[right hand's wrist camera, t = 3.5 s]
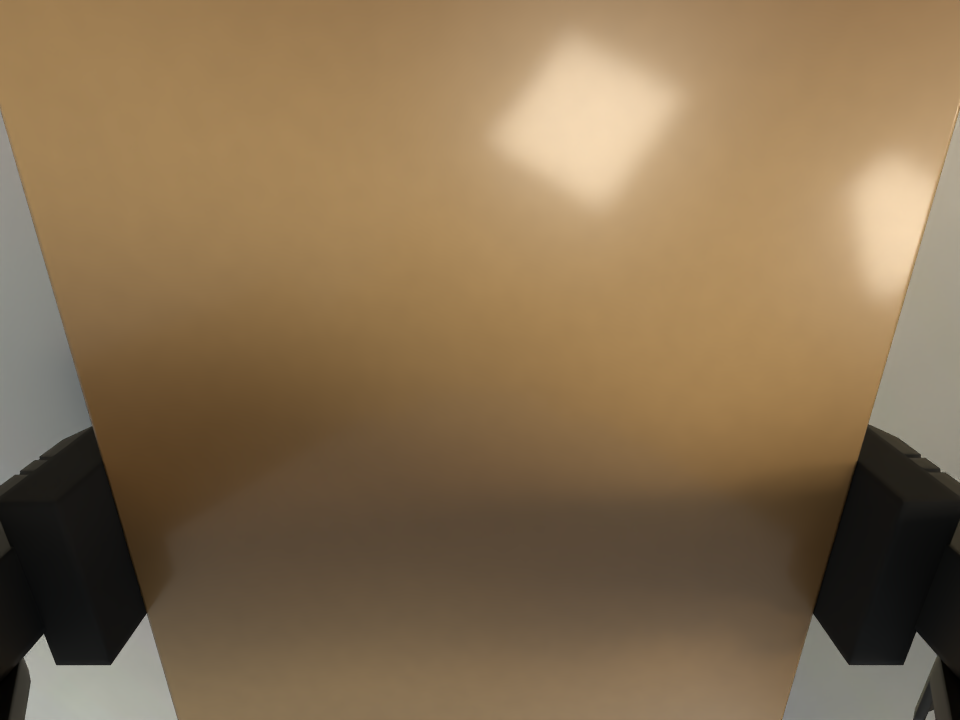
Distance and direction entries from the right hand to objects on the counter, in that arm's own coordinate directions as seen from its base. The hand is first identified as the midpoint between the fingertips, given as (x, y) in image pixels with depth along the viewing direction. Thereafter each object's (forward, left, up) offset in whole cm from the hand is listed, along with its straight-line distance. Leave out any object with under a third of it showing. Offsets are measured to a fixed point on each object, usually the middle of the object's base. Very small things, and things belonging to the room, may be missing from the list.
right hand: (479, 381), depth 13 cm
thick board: (+3, -26, -1) cm, 26 cm away
